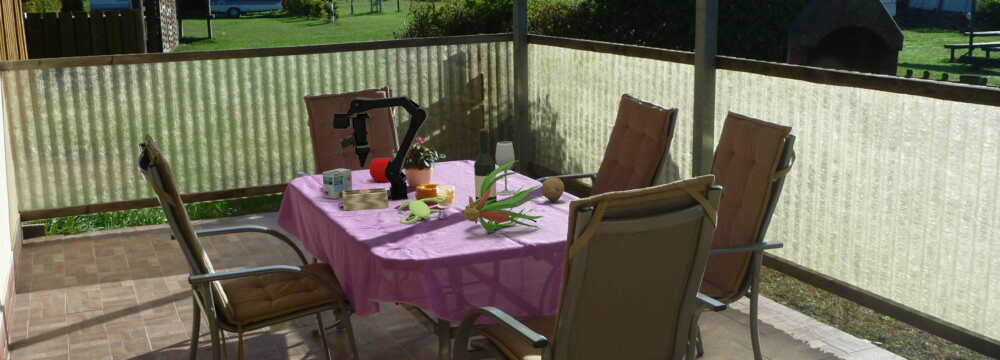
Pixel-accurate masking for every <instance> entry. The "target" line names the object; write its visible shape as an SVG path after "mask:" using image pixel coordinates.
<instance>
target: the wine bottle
mask: <svg viewBox="0 0 1000 360" xmlns="http://www.w3.org/2000/svg"><path fill="white" fill-rule="evenodd" d="M478 132H479V133H478V134H479V135H478V136H479V137H478V138H479V153H478V156H477V158H476V160H475V161H474V164H473V169H474V192H475V195H474V197H475V198H474V199H475V200H477V199H479V198H481V197H480V192H481V186H482V183H483V180H484V178H485V177H487V176H488V175H490V173H491V172H493V171H494V170H495V169H497V167H496V161H494V159H493V158H492V156H491V154H490V152H489V131H488V130H487V128H481V129H479V131H478ZM494 167H495V168H494ZM486 175H487V176H486ZM496 177H497V174H496V175H495V176H494V177H493V178H492V179H491V181H493V180H494V179H495V178H496ZM485 179H486V178H485ZM491 181H490V182H491ZM490 196H492V197H490ZM493 199H496V200H494V201H492V202H490V203H489V204H492V203H495V202H498V201H497V200H498V198H497V181H496V182H495V183H494V184H493V185H492V186H491V190H490V194H489V198H488V199H487V201H489V200H493ZM480 200H481V199H480ZM480 200H478V201H480ZM478 201H476V202H478ZM489 204H487V205H489ZM483 207H484V206H483Z"/></svg>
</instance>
